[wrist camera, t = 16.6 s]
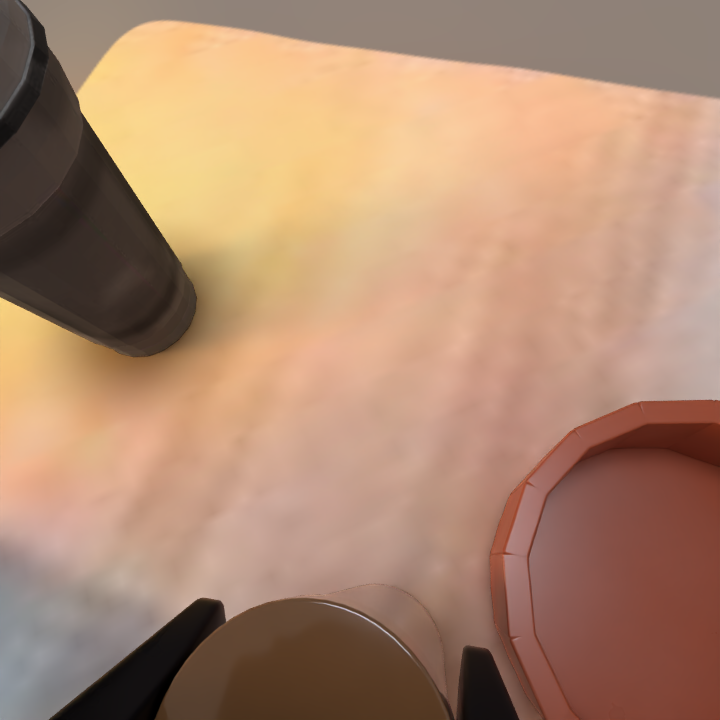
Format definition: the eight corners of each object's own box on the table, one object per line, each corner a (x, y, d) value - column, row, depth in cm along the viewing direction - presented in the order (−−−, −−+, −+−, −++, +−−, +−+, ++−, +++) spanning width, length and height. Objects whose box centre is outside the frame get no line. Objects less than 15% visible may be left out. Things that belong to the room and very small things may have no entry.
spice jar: (472, 705, 15) (527, 918, 6) (335, 764, 15) (181, 1073, 6) (412, 558, 17) (385, 550, 8) (289, 611, 17) (112, 667, 7)
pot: (931, 705, 15) (1090, 750, 11) (595, 854, 15) (647, 949, 11) (705, 386, 19) (769, 344, 15) (438, 500, 19) (439, 485, 15)
